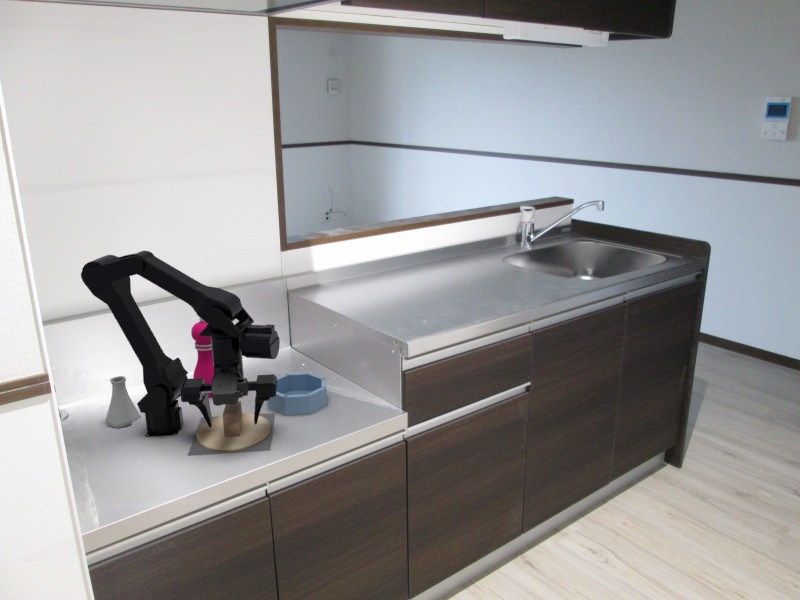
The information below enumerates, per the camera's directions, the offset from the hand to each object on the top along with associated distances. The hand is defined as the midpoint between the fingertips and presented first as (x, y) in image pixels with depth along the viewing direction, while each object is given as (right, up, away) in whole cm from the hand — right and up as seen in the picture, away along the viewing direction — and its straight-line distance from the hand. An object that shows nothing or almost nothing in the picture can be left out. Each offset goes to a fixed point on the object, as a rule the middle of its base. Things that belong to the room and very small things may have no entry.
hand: (233, 425), depth 133 cm
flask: (-26, -1, +7) cm, 27 cm away
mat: (0, -2, +1) cm, 2 cm away
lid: (0, -2, +1) cm, 2 cm away
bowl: (+11, +2, +15) cm, 19 cm away
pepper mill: (-11, +3, +20) cm, 23 cm away
